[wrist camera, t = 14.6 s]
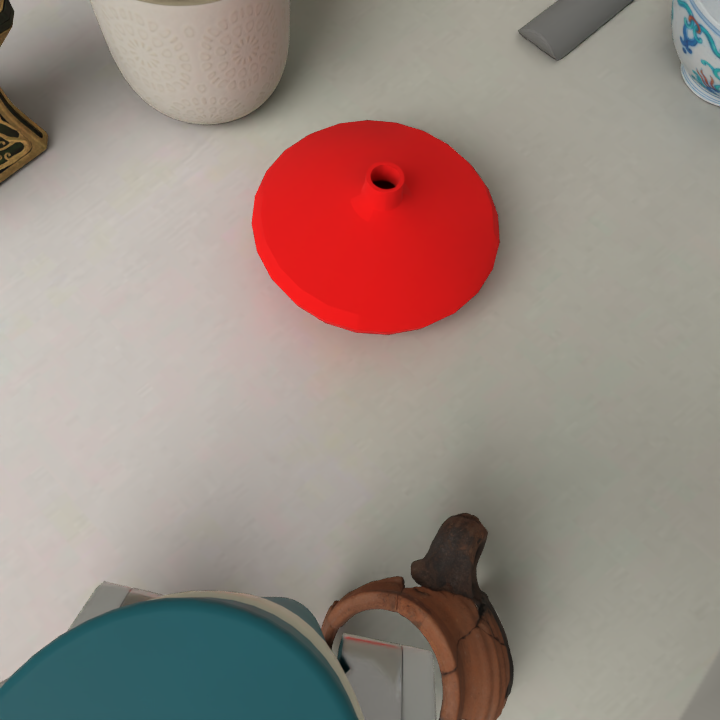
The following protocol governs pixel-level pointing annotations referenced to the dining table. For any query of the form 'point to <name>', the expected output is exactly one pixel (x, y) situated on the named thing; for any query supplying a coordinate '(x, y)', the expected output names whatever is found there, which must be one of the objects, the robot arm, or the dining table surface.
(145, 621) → the teal banded tube
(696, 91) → the chinaware
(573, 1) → the half round rod
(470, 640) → the broken brown pottery vessel
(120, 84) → the dining table surface
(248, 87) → the planter
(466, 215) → the red disc with nozzle
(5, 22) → the decorative box
